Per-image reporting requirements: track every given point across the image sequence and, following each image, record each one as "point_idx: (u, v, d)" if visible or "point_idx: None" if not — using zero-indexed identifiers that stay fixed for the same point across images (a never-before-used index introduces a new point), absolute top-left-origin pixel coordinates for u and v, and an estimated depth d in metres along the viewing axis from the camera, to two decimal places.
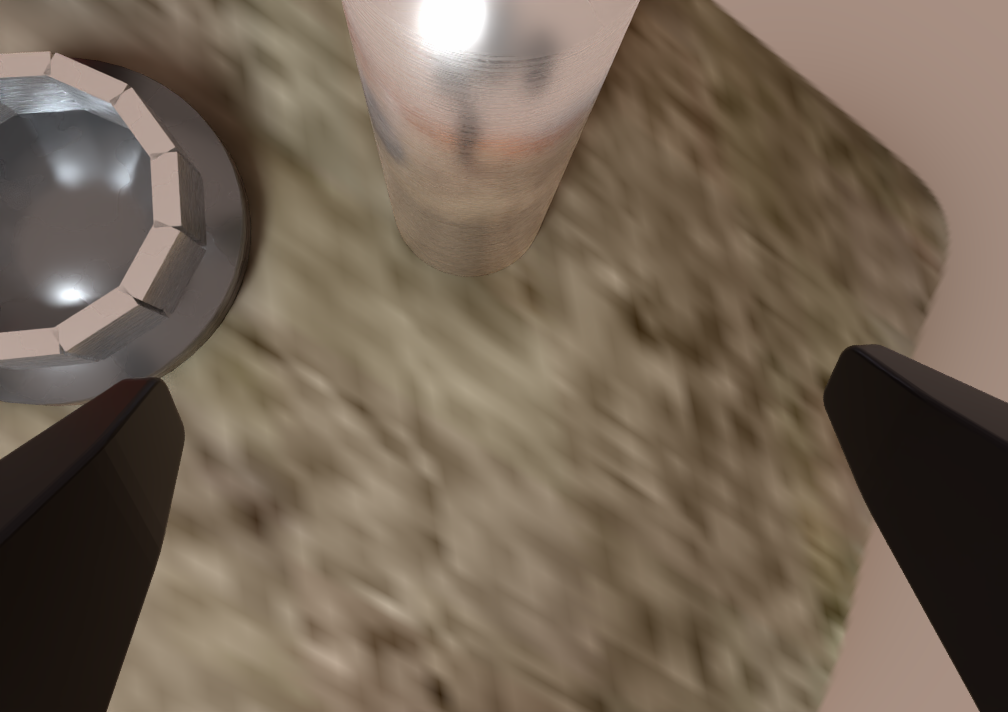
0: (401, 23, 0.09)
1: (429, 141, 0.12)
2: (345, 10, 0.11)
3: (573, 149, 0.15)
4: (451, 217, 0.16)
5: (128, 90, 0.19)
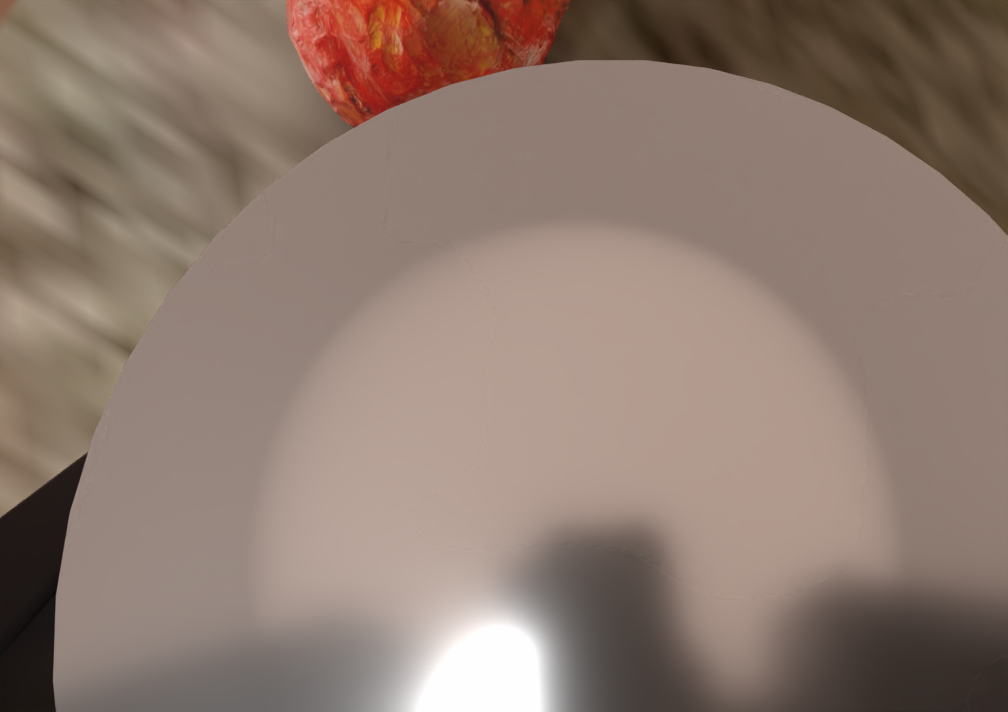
0: None
1: None
2: None
3: None
4: None
5: None
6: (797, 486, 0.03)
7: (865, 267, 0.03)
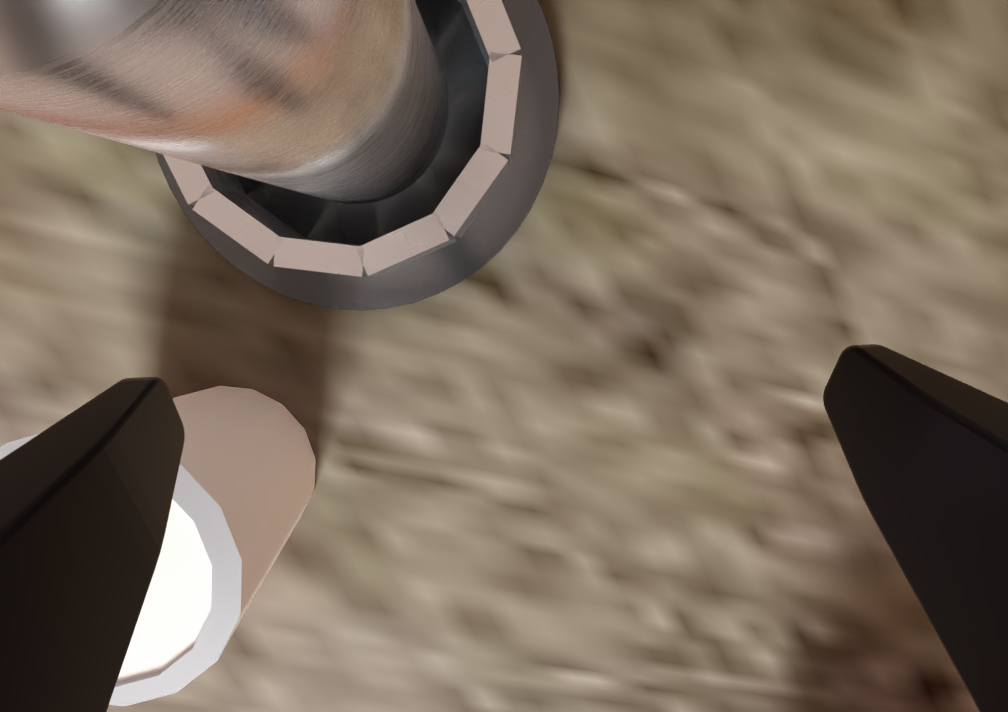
0: None
1: (144, 146, 0.08)
2: None
3: (398, 37, 0.10)
4: (288, 181, 0.12)
5: None
6: None
7: None
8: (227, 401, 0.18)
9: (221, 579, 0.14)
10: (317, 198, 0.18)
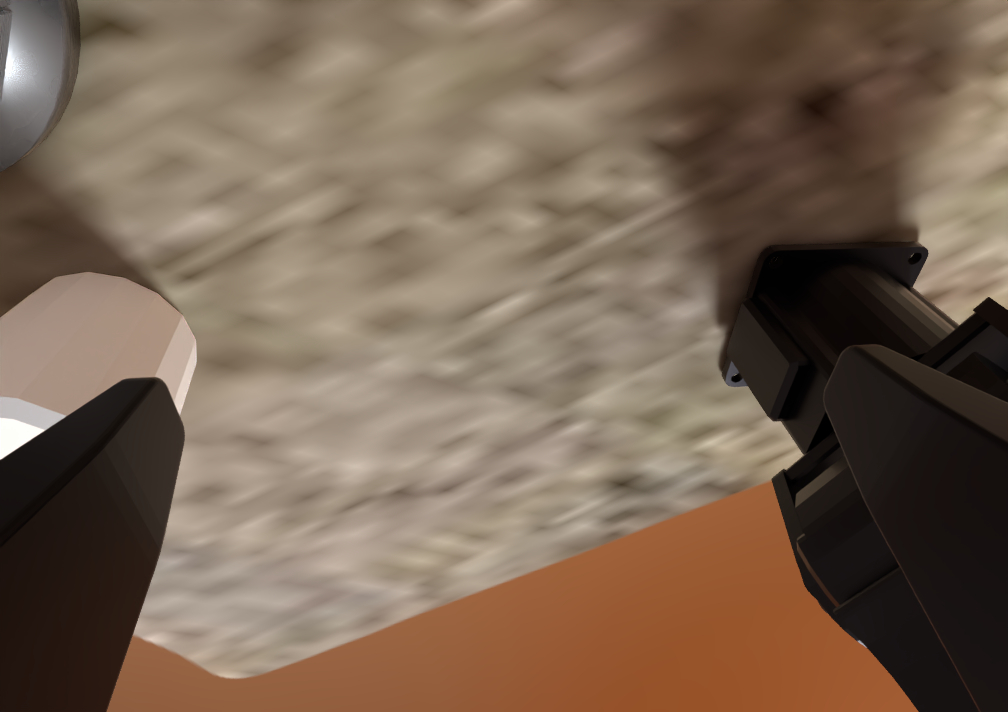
0: None
1: None
2: None
3: None
4: None
5: None
6: None
7: None
8: (21, 305, 0.18)
9: None
10: None
